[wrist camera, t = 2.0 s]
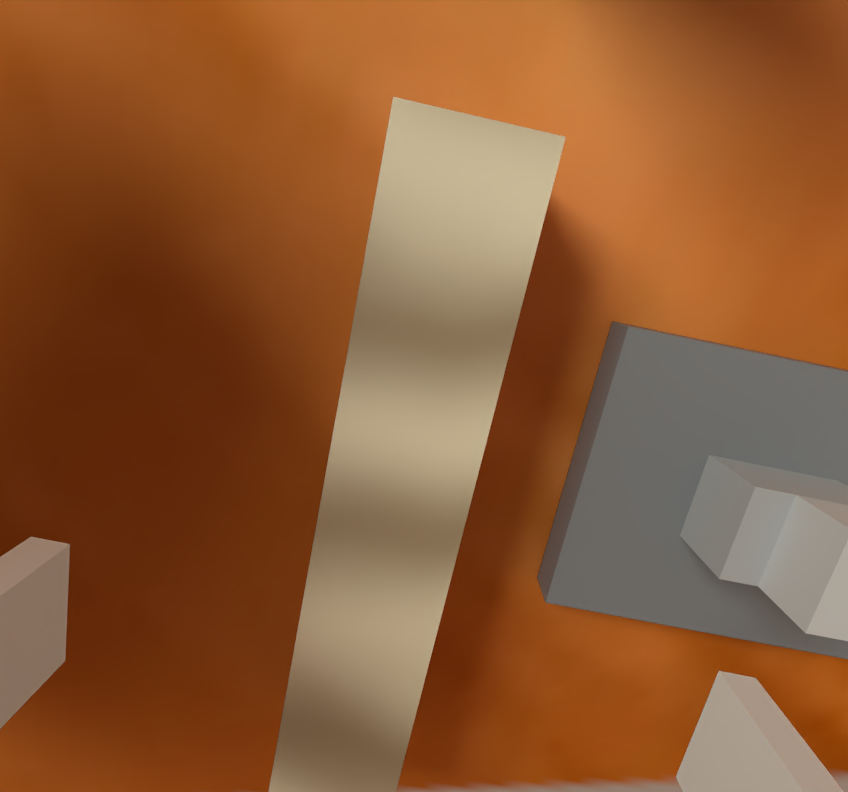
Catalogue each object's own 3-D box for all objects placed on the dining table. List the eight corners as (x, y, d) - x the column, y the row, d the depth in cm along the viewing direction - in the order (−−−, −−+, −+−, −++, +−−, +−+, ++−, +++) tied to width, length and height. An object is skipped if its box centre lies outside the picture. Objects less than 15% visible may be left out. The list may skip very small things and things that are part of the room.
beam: (393, 718, 22) (381, 846, 17) (300, 700, 22) (262, 824, 17) (527, 173, 17) (565, 136, 12) (404, 145, 16) (393, 96, 12)
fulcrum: (537, 577, 20) (580, 707, 14) (612, 321, 17) (702, 350, 12) (834, 633, 20) (996, 783, 14) (949, 391, 18) (1199, 453, 12)
